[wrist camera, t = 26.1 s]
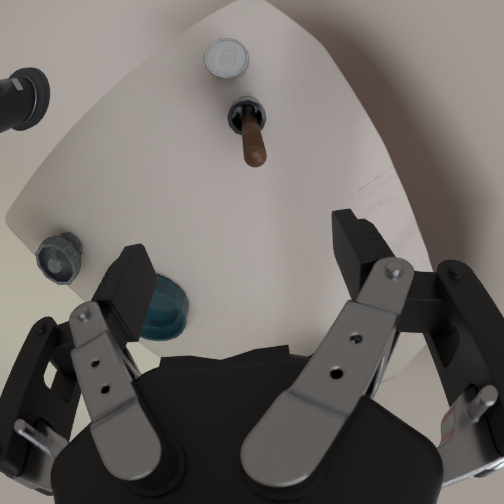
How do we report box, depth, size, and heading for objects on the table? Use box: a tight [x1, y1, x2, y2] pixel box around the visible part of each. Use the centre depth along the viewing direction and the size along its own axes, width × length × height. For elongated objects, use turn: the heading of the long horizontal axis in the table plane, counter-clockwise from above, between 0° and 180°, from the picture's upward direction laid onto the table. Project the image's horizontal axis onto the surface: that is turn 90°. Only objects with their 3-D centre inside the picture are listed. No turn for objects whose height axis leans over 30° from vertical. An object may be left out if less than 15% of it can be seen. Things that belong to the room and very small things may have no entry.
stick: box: [241, 106, 267, 167], centre depth 33 cm, size 2×2×20 cm
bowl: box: [140, 275, 189, 341], centre depth 59 cm, size 15×15×5 cm
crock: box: [228, 96, 266, 135], centre depth 37 cm, size 5×5×8 cm
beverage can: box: [204, 38, 249, 78], centre depth 31 cm, size 5×5×12 cm
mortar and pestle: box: [35, 232, 82, 285], centre depth 48 cm, size 11×9×12 cm
